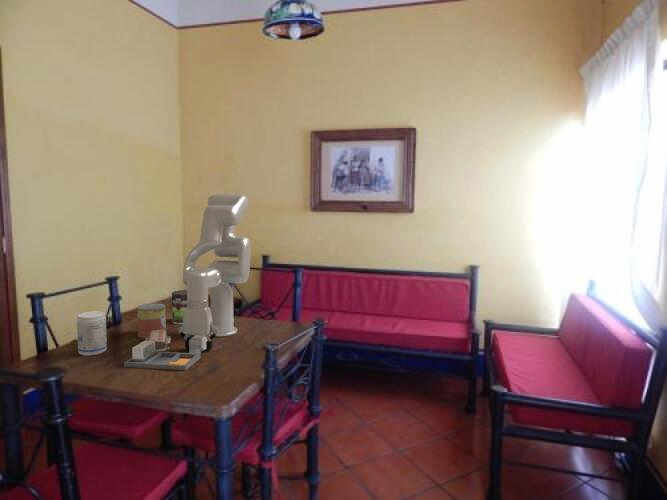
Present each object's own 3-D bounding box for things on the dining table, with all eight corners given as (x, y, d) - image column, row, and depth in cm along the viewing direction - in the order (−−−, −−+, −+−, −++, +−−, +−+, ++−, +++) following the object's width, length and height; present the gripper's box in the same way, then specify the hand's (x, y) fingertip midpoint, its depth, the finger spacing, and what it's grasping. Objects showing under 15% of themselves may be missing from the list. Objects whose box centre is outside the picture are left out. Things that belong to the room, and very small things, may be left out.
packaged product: (144, 329, 183) (170, 327, 186) (145, 341, 183) (170, 339, 187) (140, 343, 166) (169, 340, 169) (140, 355, 166) (169, 353, 170)
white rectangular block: (198, 348, 174) (197, 333, 174) (208, 348, 174) (207, 333, 173) (189, 355, 166) (189, 339, 166) (199, 356, 166) (199, 340, 165)
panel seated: (145, 356, 162) (144, 340, 161) (155, 357, 161) (155, 341, 161) (132, 364, 154) (132, 347, 153) (143, 365, 154) (143, 348, 153)
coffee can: (188, 325, 205) (188, 295, 204) (168, 323, 207) (167, 293, 205) (199, 319, 215) (198, 290, 214) (179, 318, 217) (178, 289, 216)
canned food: (162, 337, 187) (161, 309, 186) (134, 338, 186) (133, 309, 184) (168, 329, 198) (168, 302, 197) (142, 330, 197) (141, 303, 195)
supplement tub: (74, 352, 168) (72, 314, 166) (100, 346, 175) (98, 309, 174) (85, 358, 162) (83, 318, 160) (111, 351, 169) (110, 313, 167)
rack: (142, 356, 164) (142, 349, 164) (200, 359, 162) (200, 352, 161) (123, 369, 152) (123, 360, 152) (185, 372, 150) (185, 364, 149)
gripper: (171, 305, 165) (172, 352, 167) (216, 307, 163) (217, 354, 165) (180, 301, 173) (181, 345, 175) (223, 302, 171) (224, 347, 173)
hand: (198, 349), depth 170 cm, fingers open, 7 cm apart
